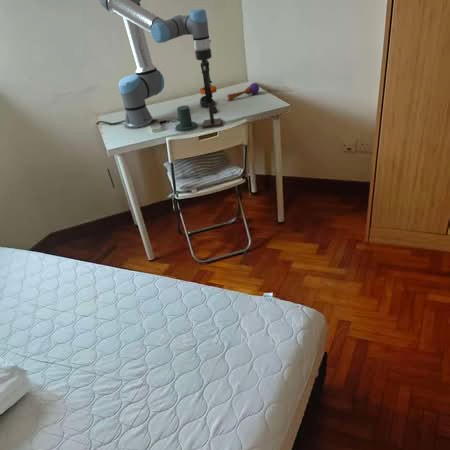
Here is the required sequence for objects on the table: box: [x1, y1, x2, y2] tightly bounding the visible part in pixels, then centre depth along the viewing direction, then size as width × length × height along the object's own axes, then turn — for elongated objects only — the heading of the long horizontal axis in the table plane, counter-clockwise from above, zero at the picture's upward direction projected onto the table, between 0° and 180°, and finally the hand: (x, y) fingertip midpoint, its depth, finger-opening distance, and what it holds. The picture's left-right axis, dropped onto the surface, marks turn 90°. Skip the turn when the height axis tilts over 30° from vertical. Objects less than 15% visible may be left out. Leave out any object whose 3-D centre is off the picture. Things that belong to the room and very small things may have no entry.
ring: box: [199, 85, 217, 96], centre depth 208 cm, size 8×8×2 cm
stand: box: [175, 105, 198, 132], centre depth 216 cm, size 11×11×10 cm
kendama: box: [226, 82, 260, 102], centre depth 246 cm, size 6×6×20 cm
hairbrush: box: [199, 94, 218, 114], centre depth 239 cm, size 8×4×25 cm
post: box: [203, 103, 222, 129], centre depth 214 cm, size 9×9×14 cm
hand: (209, 100), depth 211 cm, fingers closed on ring, 8 cm apart
